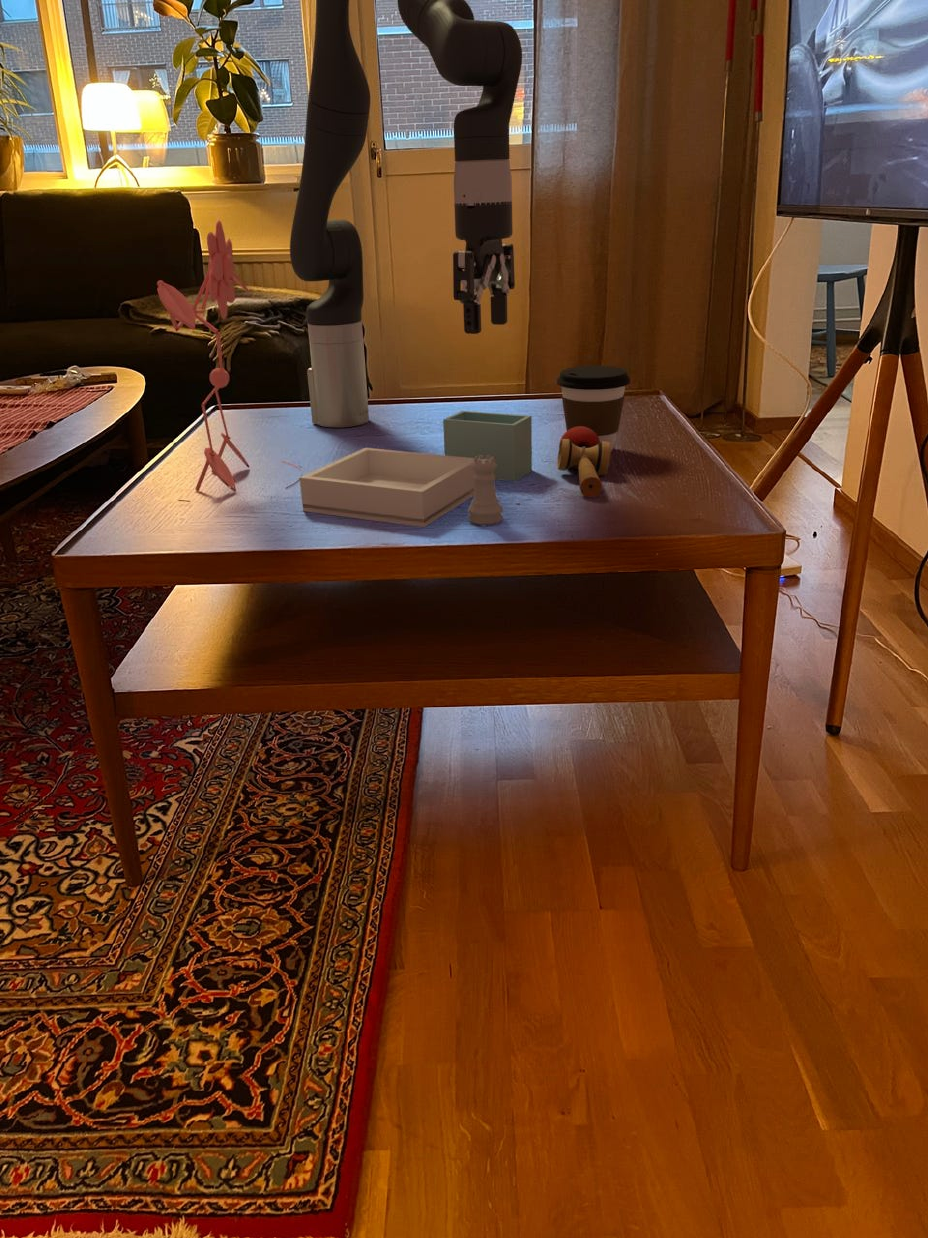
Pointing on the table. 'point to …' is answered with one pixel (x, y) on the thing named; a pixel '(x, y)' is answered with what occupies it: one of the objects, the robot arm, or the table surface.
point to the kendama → (585, 458)
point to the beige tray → (389, 486)
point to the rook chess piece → (484, 493)
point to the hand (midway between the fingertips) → (486, 328)
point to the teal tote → (491, 440)
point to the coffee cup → (594, 398)
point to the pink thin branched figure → (182, 310)
